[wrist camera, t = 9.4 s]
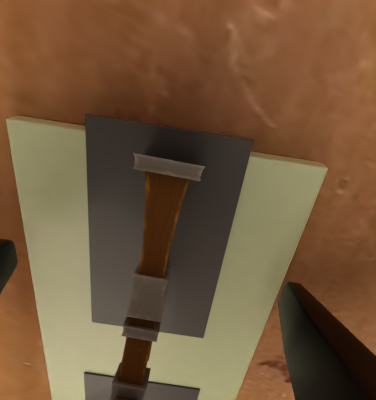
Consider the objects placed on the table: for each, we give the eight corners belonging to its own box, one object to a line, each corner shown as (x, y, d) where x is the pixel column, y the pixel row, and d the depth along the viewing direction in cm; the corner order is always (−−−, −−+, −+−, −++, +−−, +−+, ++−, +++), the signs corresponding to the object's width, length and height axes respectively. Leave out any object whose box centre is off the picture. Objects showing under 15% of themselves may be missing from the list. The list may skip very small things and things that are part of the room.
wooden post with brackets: (119, 354, 11) (77, 465, 7) (152, 164, 11) (131, 152, 6) (161, 361, 11) (148, 476, 7) (196, 173, 11) (206, 165, 7)
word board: (327, 147, 9) (337, 153, 8) (212, 446, 18) (212, 460, 17) (13, 98, 9) (-1, 101, 8) (61, 425, 18) (56, 438, 17)
